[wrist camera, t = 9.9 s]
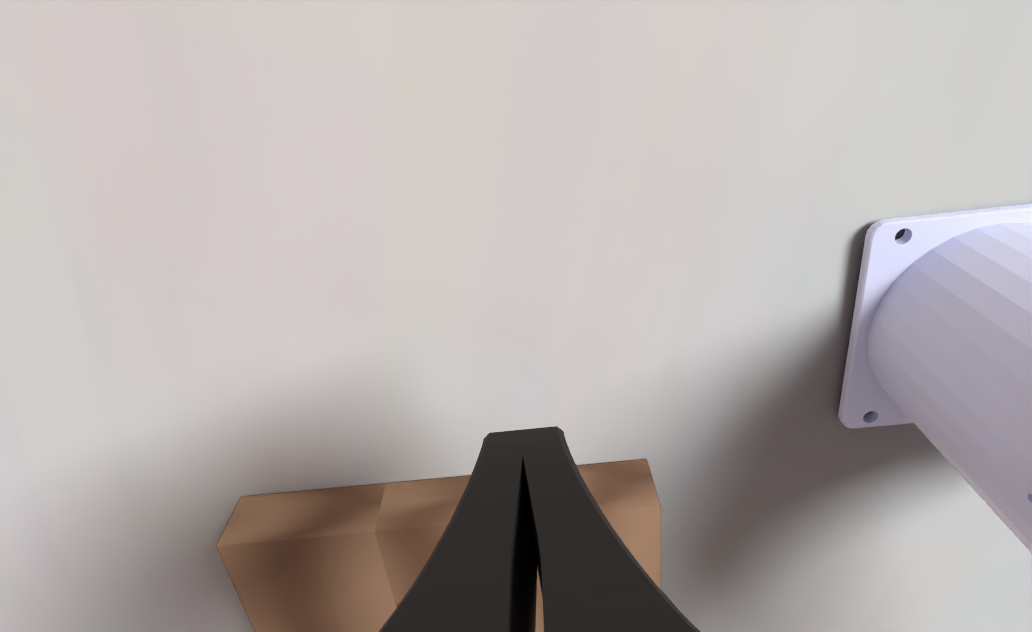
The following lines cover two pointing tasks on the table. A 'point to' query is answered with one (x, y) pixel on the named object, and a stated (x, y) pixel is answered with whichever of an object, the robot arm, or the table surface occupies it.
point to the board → (386, 545)
